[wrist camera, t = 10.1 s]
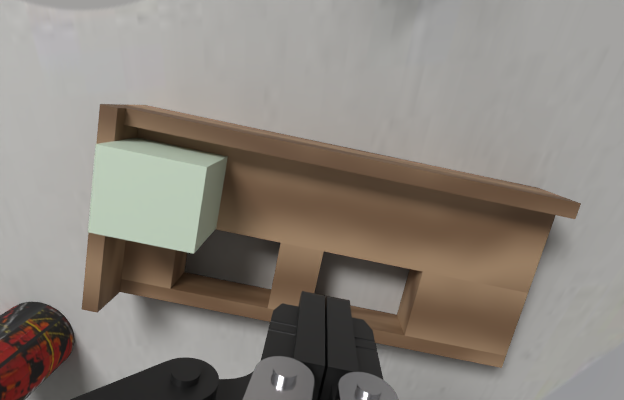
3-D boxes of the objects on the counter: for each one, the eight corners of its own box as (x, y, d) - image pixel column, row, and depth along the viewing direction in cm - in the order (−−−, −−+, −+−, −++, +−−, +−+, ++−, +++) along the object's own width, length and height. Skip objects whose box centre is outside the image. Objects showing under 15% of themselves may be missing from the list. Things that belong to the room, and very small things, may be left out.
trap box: (144, 105, 29) (100, 104, 23) (538, 187, 30) (591, 207, 24) (125, 272, 32) (81, 309, 26) (485, 344, 33) (521, 396, 27)
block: (137, 137, 27) (95, 144, 22) (227, 156, 27) (207, 167, 22) (129, 210, 28) (87, 232, 23) (216, 228, 28) (193, 253, 23)
